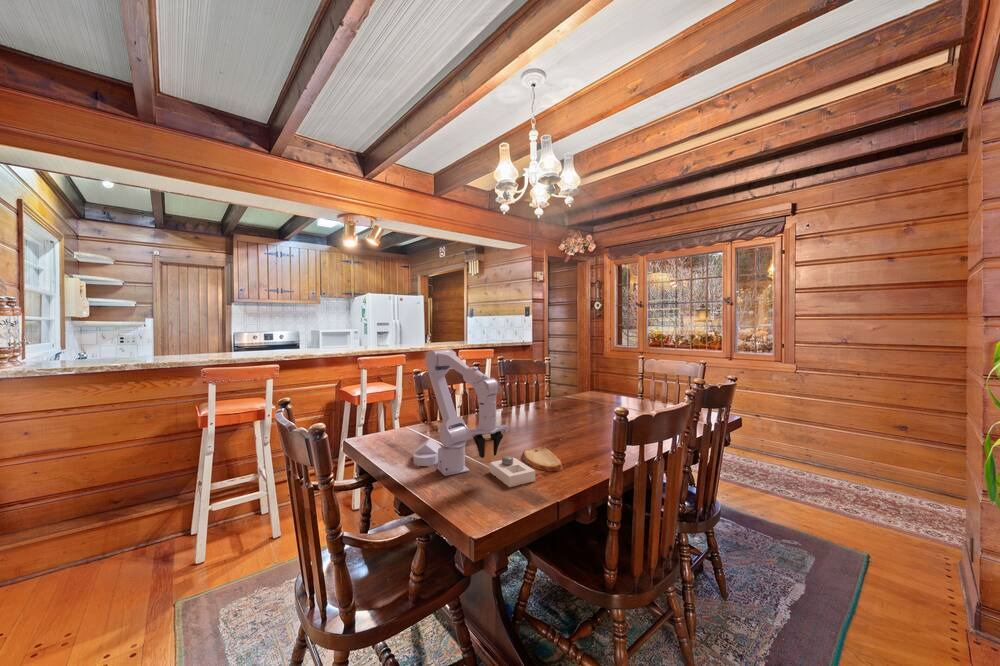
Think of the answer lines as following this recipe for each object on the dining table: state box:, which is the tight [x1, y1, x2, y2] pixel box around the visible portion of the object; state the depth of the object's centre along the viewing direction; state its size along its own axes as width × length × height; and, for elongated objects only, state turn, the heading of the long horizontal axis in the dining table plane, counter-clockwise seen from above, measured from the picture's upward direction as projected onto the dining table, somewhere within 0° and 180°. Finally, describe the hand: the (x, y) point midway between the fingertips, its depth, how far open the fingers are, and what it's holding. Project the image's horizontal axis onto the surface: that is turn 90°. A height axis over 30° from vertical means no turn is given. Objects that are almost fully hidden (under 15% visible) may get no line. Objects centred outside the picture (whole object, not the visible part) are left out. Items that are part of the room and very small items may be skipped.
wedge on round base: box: [413, 437, 442, 467], centre depth 148 cm, size 9×7×13 cm
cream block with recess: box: [489, 455, 536, 488], centre depth 133 cm, size 10×14×6 cm
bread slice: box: [521, 446, 564, 472], centre depth 147 cm, size 18×18×4 cm
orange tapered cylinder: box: [481, 437, 495, 464], centre depth 128 cm, size 4×4×7 cm
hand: (487, 455), depth 128 cm, fingers closed on orange tapered cylinder, 4 cm apart
